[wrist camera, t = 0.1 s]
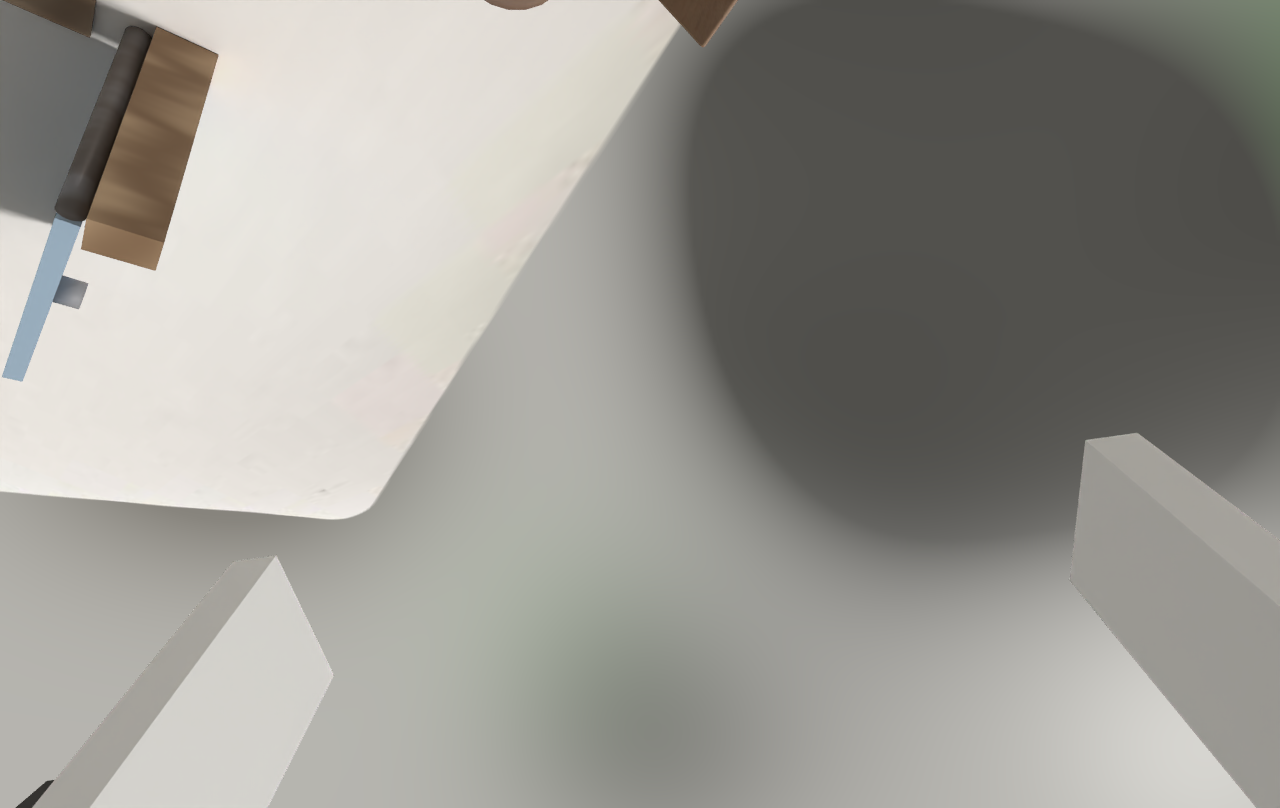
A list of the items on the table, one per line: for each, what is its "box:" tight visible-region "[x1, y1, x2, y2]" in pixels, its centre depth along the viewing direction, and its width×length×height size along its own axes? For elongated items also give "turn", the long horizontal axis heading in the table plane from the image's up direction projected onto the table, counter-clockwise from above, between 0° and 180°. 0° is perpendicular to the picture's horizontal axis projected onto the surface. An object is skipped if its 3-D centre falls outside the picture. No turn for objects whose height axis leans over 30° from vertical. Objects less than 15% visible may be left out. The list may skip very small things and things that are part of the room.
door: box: [2, 213, 88, 381], centre depth 43 cm, size 18×2×12 cm, turn 137°
